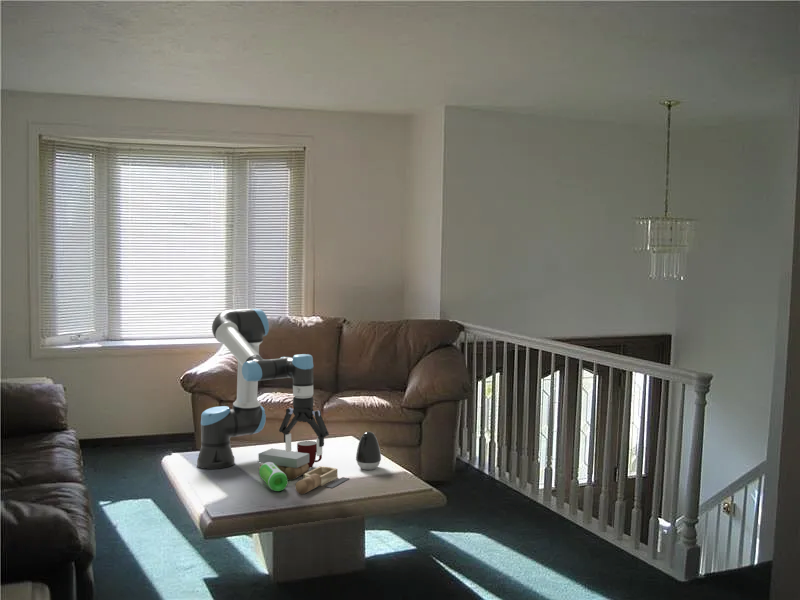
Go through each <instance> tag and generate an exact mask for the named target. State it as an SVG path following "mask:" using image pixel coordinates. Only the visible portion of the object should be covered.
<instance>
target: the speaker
mask: <svg viewBox="0 0 800 600" xmlns="http://www.w3.org/2000/svg"><path fill="white" fill-rule="evenodd" d="M261 464H262V465H261ZM261 464H260V465H261V467H260V469H259V468H258V472H259V473H258V474H259V477H260V478H261V479H262V480H263V481H264V482H265V484H266V485H267V486H268V488H269V489H271V490H272V491H273V492H274V491H275V492H281V491H283V490H285V489H286V487H287V485H288V482H289V480H288V479H287V476H286V475H285V473H283V472H282V471H281V470H280V469H279V468H278V467H277V466H276V464H274V463H272V462H266V463H264V464H263V463H261Z"/></svg>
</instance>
